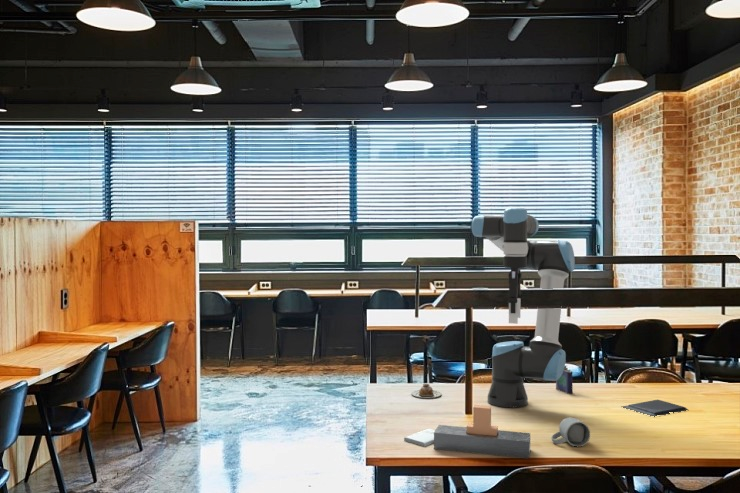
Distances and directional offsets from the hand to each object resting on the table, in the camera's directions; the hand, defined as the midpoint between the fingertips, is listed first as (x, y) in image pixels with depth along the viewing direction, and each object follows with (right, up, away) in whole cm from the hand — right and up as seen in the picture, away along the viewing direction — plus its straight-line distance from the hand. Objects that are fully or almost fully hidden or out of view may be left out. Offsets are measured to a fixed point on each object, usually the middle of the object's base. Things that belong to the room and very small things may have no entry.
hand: (514, 320), depth 207 cm
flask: (+33, -36, +53) cm, 71 cm away
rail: (-13, -37, -16) cm, 43 cm away
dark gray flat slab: (+59, -37, +28) cm, 75 cm away
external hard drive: (-29, -38, -6) cm, 48 cm away
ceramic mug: (+15, -37, -10) cm, 41 cm away
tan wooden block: (-13, -36, -16) cm, 42 cm away
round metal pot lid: (-25, -36, +47) cm, 64 cm away
